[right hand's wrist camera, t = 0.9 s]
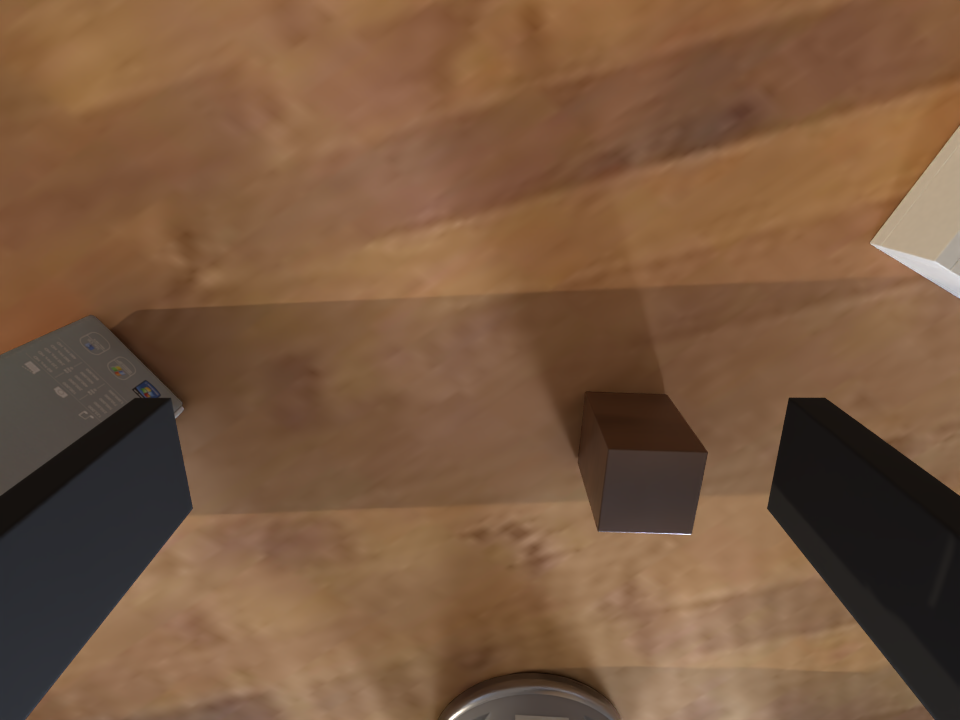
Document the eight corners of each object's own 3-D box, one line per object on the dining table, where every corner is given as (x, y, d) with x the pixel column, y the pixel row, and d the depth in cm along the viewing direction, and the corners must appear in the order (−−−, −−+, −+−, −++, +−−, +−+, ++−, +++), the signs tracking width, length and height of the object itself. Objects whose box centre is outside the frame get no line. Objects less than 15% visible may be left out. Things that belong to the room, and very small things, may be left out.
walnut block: (655, 465, 37) (692, 535, 31) (577, 462, 37) (597, 532, 31) (667, 394, 36) (708, 452, 29) (585, 391, 36) (608, 448, 29)
